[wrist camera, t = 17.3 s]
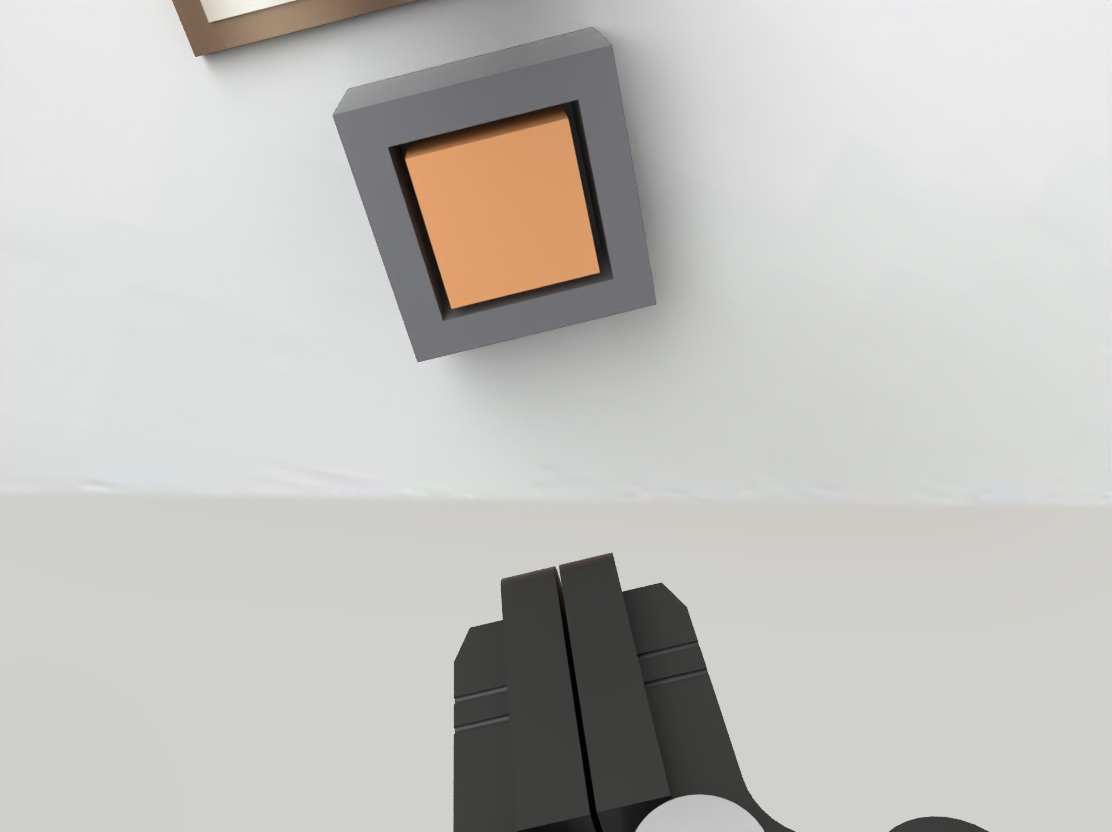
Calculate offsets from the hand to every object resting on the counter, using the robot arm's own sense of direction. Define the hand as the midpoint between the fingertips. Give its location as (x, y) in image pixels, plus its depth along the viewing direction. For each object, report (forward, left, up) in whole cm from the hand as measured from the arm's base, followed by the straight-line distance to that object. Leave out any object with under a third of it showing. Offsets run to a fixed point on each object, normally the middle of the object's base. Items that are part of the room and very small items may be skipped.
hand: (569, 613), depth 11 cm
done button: (0, 0, -20) cm, 20 cm away
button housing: (0, 0, -21) cm, 21 cm away
